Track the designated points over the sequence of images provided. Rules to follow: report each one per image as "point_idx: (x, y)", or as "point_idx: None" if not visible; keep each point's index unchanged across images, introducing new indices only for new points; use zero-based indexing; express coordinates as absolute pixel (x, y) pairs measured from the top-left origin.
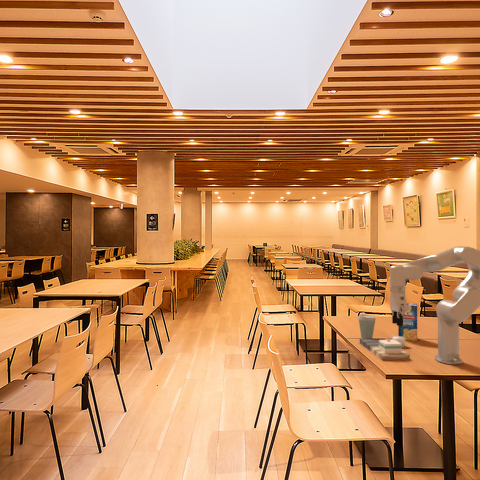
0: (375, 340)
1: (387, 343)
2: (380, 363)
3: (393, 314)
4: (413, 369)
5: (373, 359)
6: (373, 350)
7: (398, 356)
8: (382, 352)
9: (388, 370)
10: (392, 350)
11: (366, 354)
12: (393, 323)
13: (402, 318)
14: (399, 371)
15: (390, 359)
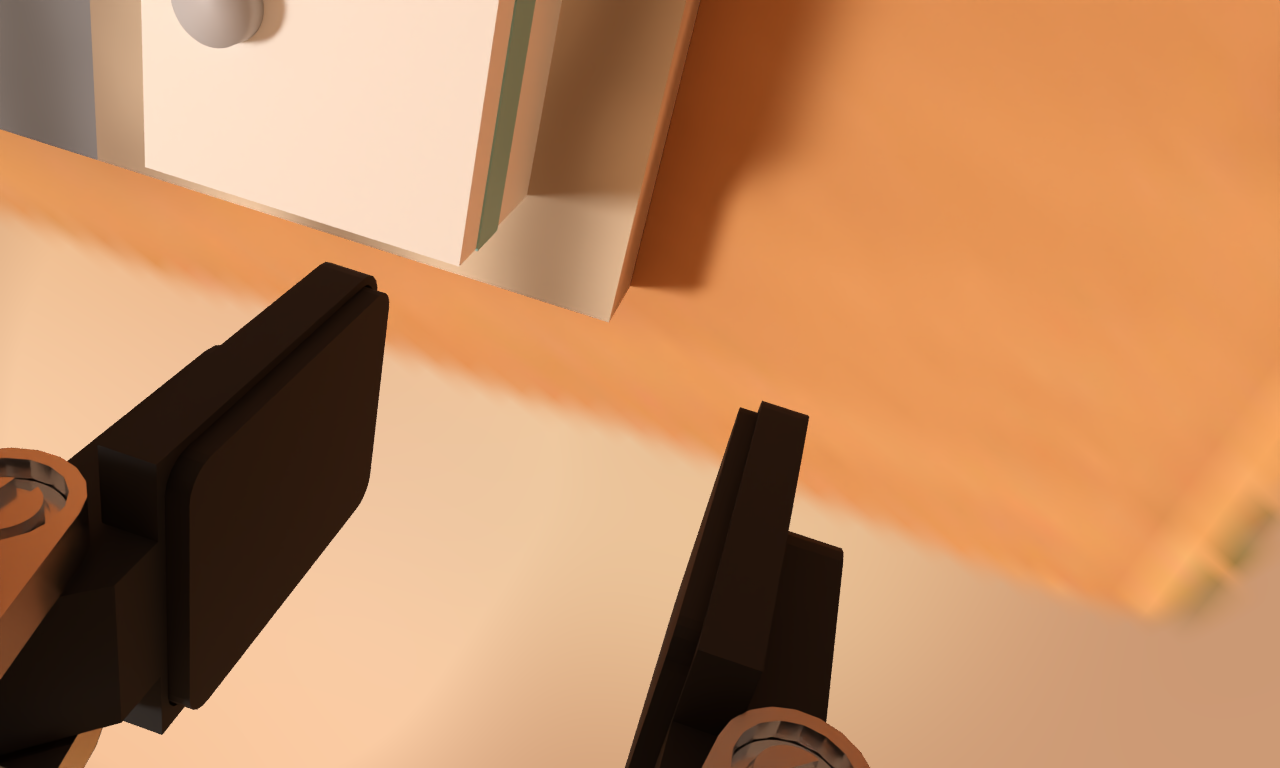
0: None
1: (423, 181)
2: None
3: (77, 744)
4: (1262, 126)
5: (563, 380)
6: None
7: (690, 3)
8: None
9: (1067, 523)
10: (534, 63)
11: None
12: (358, 467)
13: (759, 676)
14: (1193, 417)
15: (663, 149)
